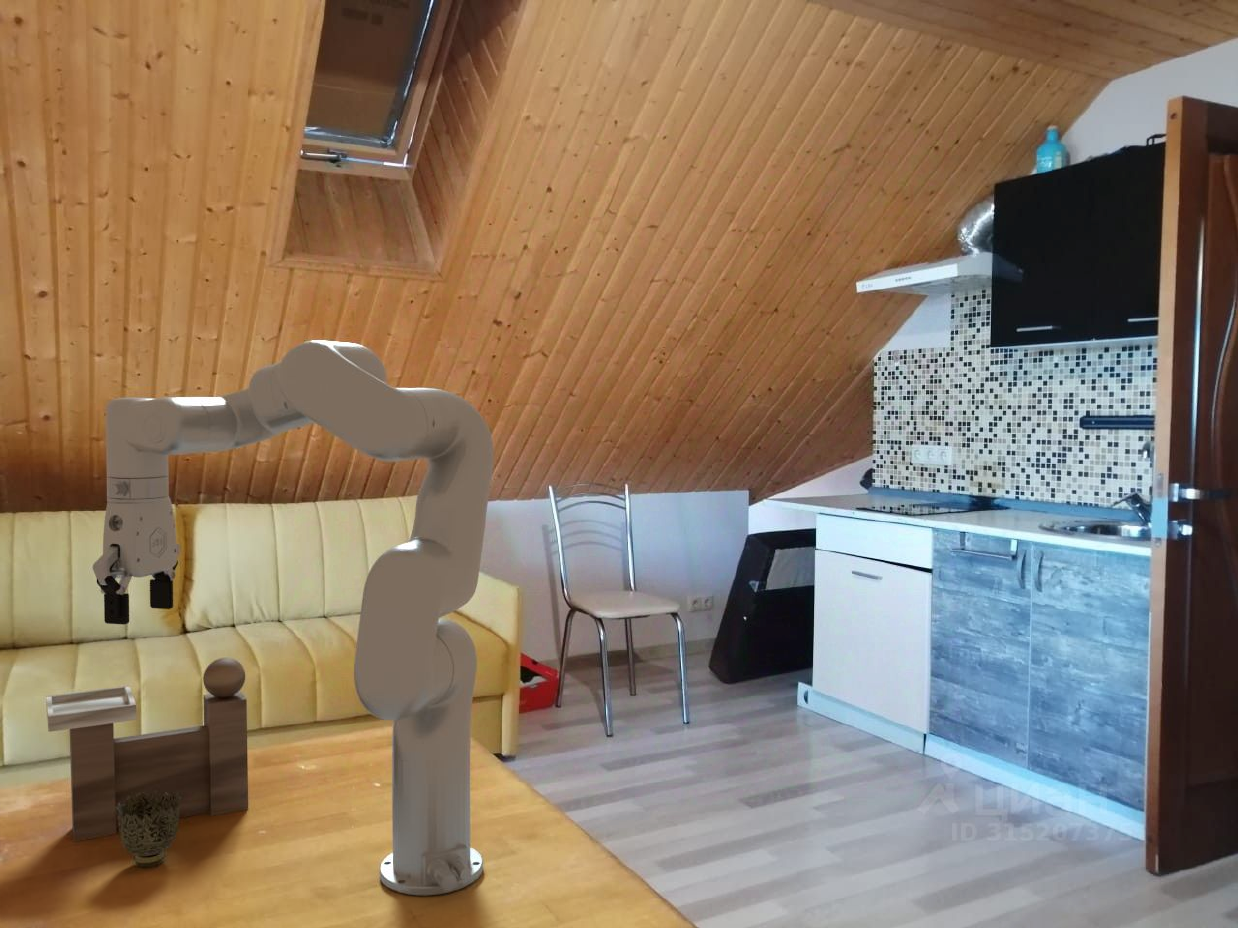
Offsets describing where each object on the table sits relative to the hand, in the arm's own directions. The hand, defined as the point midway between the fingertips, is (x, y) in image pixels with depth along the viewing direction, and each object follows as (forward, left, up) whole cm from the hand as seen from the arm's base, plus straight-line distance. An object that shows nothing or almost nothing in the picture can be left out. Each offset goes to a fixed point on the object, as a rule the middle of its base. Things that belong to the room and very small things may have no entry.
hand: (140, 615), depth 138 cm
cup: (-13, +1, -29) cm, 32 cm away
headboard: (+1, -1, -29) cm, 29 cm away
